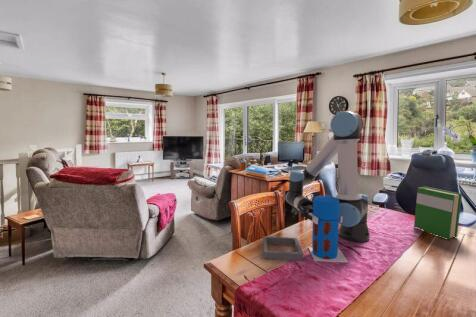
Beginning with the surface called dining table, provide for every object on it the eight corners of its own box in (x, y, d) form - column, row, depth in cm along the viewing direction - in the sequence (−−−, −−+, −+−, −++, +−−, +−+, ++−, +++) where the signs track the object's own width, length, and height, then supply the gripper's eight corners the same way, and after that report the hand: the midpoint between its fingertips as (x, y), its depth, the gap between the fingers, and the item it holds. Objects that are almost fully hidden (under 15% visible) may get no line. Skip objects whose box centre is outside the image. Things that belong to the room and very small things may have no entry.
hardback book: (456, 238, 137) (462, 193, 134) (448, 240, 134) (453, 195, 131) (421, 226, 153) (425, 186, 150) (413, 228, 150) (417, 187, 147)
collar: (296, 243, 127) (297, 237, 126) (302, 260, 110) (303, 254, 110) (263, 242, 128) (263, 236, 127) (264, 258, 111) (264, 252, 111)
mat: (338, 249, 121) (338, 248, 121) (347, 262, 109) (347, 261, 109) (308, 248, 122) (308, 246, 122) (314, 260, 110) (314, 259, 110)
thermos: (339, 260, 109) (341, 203, 106) (313, 258, 112) (314, 201, 109) (335, 248, 120) (337, 196, 117) (311, 246, 122) (312, 195, 119)
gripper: (323, 211, 135) (352, 227, 114) (282, 213, 129) (304, 230, 108) (325, 197, 134) (353, 210, 113) (283, 198, 128) (305, 213, 107)
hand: (329, 220), depth 111 cm, fingers open, 11 cm apart
